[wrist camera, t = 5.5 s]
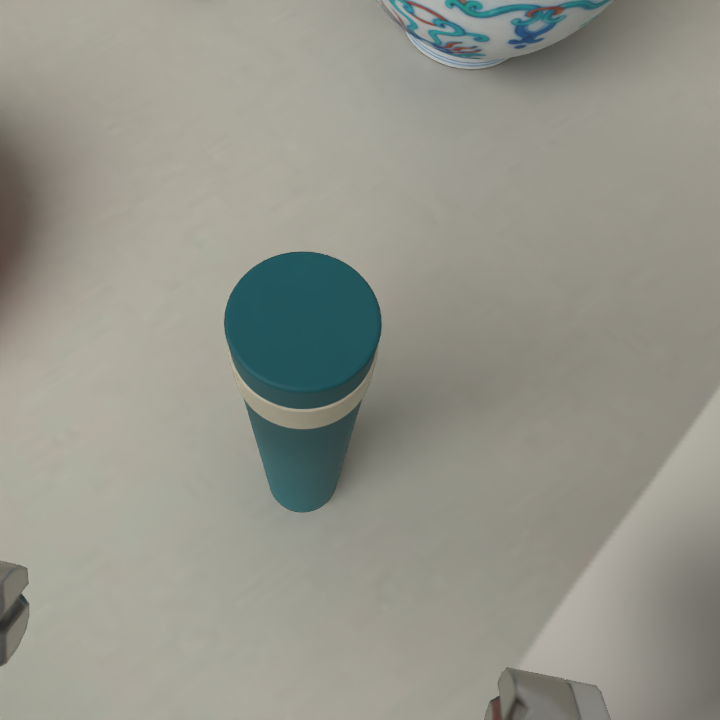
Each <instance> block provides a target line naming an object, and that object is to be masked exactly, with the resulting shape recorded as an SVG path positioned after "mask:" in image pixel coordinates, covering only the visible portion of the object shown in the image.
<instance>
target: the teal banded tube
mask: <svg viewBox="0 0 720 720" xmlns="http://www.w3.org/2000/svg"><path fill="white" fill-rule="evenodd" d="M224 327H225V335H226V339H227V343H228V355H229V359H230V363H231V367H232V370H233V373H234V376H235V380H236V383H237V385H238V388H239V391H240V392H241V394H242V396H243V398H244V401H245V404H246V407H247V411H248V414H249V418H250V421H251V424H252V428H253V431H254V435H255V438H256V441H257V445H258V448H259V452H260V455H261V458H262V462H263V465H264V469H265V472H266V475H267V479H268V482H269V486H270V489H271V492H272V494H273V496H274V497H275V499H276V500H277V501H278V502H279V503H280V504H281V505H282V506H284V507H285V508H287V509H289V510H292V511H295V512H310V511H313V510H316V509H318V508H320V507H321V506H323V505H324V504H325V503H326V502H327V501H328V500H329V499H330V498H331V497H332V495H333V493H334V491H335V488H336V485H337V481H338V478H339V475H340V471H341V468H342V465H343V461H344V458H345V454H346V451H347V448H348V444H349V441H350V438H351V434H352V431H353V428H354V424H355V421H356V417H357V414H358V411H359V407H360V404H361V401H362V398H363V396H364V394H365V393H366V390H367V388H368V385H369V383H370V379H371V376H372V373H373V370H374V366H375V363H376V359H377V354H378V343H379V339H380V335H381V327H382V324H381V313H380V307H379V304H378V301H377V299H376V297H375V294H374V292H373V291H372V289H371V288H370V286H369V285H368V283H367V282H366V281H365V280H364V278H363V277H362V276H361V275H360V274H359V273H358V272H357V271H355V270H354V269H353V268H352V267H350V266H349V265H347V264H346V263H344V262H342V261H340V260H338V259H336V258H333V257H331V256H328V255H324V254H320V253H314V252H290V253H285V254H281V255H277V256H274V257H271V258H269V259H267V260H265V261H263V262H261V263H259V264H258V265H256V266H255V267H253V268H252V269H251V270H250V271H248V272H247V273H246V274H245V275H244V276H243V277H242V278H241V280H240V281H239V282H238V284H237V285H236V286H235V288H234V289H233V291H232V293H231V295H230V297H229V300H228V303H227V306H226V310H225V318H224Z"/></svg>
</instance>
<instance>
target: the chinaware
mask: <svg viewBox="0 0 720 720" xmlns="http://www.w3.org/2000/svg"><path fill="white" fill-rule="evenodd" d="M377 1H378V3H379V4H380V5H381V7H382V8H383V9H384V10H385V11H386V12H387V14H388V15H389V16H390V17H391V18H392V19H393V20H394V21H395V22H396V23H397V24H398V25H399V26H401V27H402V28H403V29H404V30H405V32H406V34H407V36H408V38H409V39H410V41H411V42H412V43H413V44H414V46H415V47H416V48H417V49H418V50H420V51H421V52H422V53H423V54H425V55H426V56H428V57H429V58H431V59H433V60H435V61H437V62H439V63H442V64H444V65H447V66H451V67H455V68H461V69H483V68H488V67H492V66H495V65H498V64H500V63H502V62H504V61H505V60H507V59H508V58H511V57H517V56H521V55H525V54H529V53H532V52H535V51H538V50H540V49H543V48H546V47H548V46H550V45H552V44H554V43H557V42H559V41H561V40H562V39H564V38H566V37H568V36H570V35H571V34H573V33H574V32H576V31H577V30H579V29H580V28H582V27H583V26H585V25H586V24H587V23H589V22H590V21H591V20H593V19H594V18H595V17H596V16H597V15H599V14H600V13H601V12H602V11H603V10H604V9H606V8H607V7H608V6H609V5H610V4H611V3H612V2H613V1H614V0H377Z"/></svg>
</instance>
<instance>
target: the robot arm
mask: <svg viewBox="0 0 720 720" xmlns="http://www.w3.org/2000/svg"><path fill="white" fill-rule="evenodd" d="M28 584H29V583H28V571H27V568H25V567H23V566H21V565H16V564H12V563H8V562H4V561H0V667H1V666H2V665H4V664H6V663H7V662H8V660H9V659H10V658H11V656H12V655H13V653H14V652H15V651H16V649H17V648H18V646H19V644H20V642H21V639H22V637H23V635H24V633H25V631H26V628H27V624H28V619H29V603H28V602H27V600H26V599H25V598H24V596H23V595H22V594H21V592H22V591H23V590H24V589H25V587H26V586H27V585H28ZM498 688H499V695H500V696H498V697H496V698H494V699H493V700H491V701H490V703H489V705H488V708H487V711H486V714H485V718H484V720H611V719H610V716H609V714H608V710H607V708H606V705H605V702H604V699H603V696H602V693H601V691H600V690H599V689H598V687H597V686H595V685H590V684H586V683H581V682H576V681H571V680H564V679H562V678H558V677H553V676H548V675H543V674H538V673H533V672H528V671H523V670H518V669H513V668H508V667H507V668H506V669H505V670H504V671H503V672H502V674H501V676H500V678H499V681H498Z"/></svg>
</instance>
